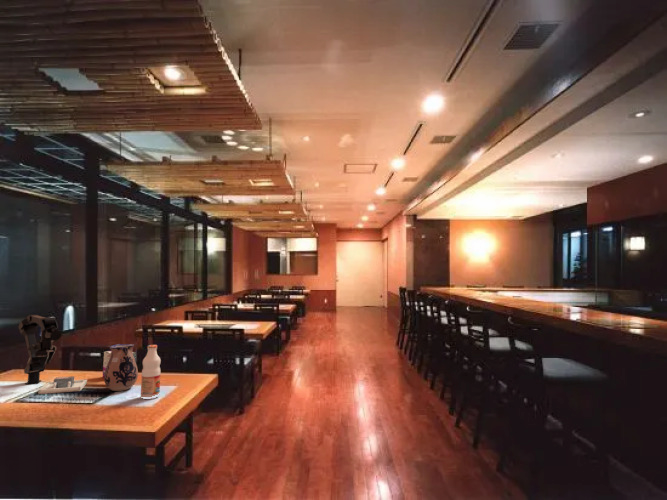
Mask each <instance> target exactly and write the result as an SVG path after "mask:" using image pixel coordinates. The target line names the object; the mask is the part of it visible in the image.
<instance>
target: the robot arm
mask: <svg viewBox="0 0 667 500" xmlns="http://www.w3.org/2000/svg"><path fill="white" fill-rule="evenodd" d="M38 326H39V328H40V331H41V332H40V341H39V342H38V343H37V340H36V336H35V332H36V331H37V327H38ZM18 330H19V333H20V335H22V336H23V337H24V339H25V344H26V350H27V352H28V353H27V354H28V361H27V362H26V367H25V368H23V373H24V374H25V375H27V381H26V382H25V385H33V384H35V385H36V384H39V383H40V382H42V379H40V375H41V373H43V372H45V368H46V364H47V365H49V364H50V362H51V360H52V359H53V356H54V355H55V353H56V351H57V348H58V347H57V346H56V345H53V342H54V341H58V340H59V339H60V338H61V337H62V333H61V331H59V324H58V322H57V319H56V318H55V317H51V316H50V317H44V316H40V315H38V314H30V315H28V316H27V317H26V318H25V319H23V320H21V321H20V323H19V324H18Z"/></svg>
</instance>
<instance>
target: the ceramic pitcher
mask: <svg viewBox="0 0 667 500" xmlns="http://www.w3.org/2000/svg"><path fill="white" fill-rule="evenodd" d="M134 346H135V344H131V343H130V344H129V343H125V344H122V343H118V344H114V345H110V346H109V349H110V351H111V356H110V359H109V362H108V364H107V367H106V370H105V374H104V378H103V381H104V383H105V386H106V387H107V388H108V389H109V390H111V391H114V392H115V391H116V392H119V391H120V392H121V391H126V390H129V389H131V388H132V387H133V386H134V385H135V384H136V382H137V380H138V377H139V371H138V369H139V368H138V365H137V363H136V359H135V357H134V352H133V348H134Z"/></svg>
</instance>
